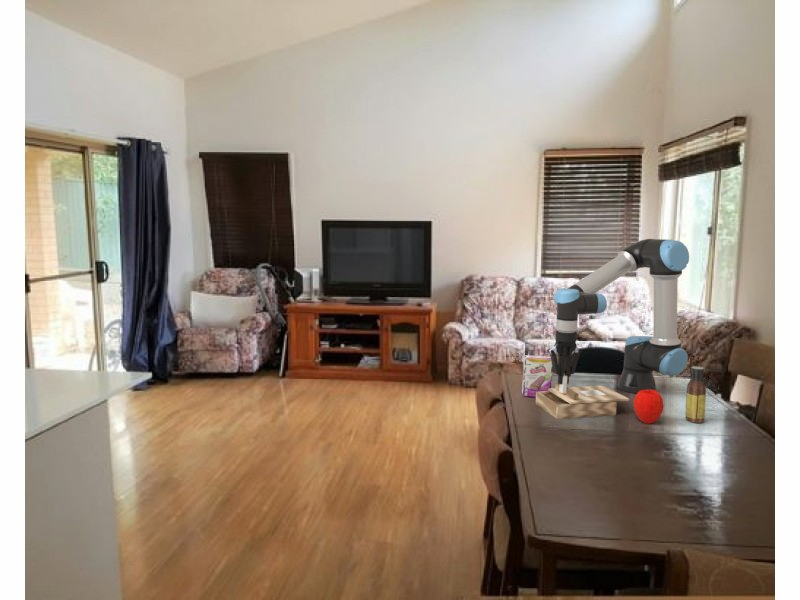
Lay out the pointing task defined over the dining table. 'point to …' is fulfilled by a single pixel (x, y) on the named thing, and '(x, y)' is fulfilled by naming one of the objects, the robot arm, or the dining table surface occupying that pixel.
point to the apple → (648, 405)
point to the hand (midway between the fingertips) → (562, 392)
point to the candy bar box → (536, 375)
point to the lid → (588, 394)
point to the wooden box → (572, 407)
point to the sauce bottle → (696, 396)
